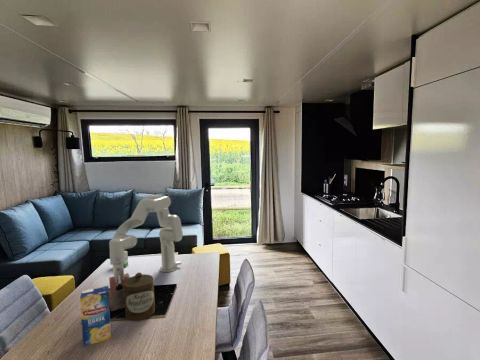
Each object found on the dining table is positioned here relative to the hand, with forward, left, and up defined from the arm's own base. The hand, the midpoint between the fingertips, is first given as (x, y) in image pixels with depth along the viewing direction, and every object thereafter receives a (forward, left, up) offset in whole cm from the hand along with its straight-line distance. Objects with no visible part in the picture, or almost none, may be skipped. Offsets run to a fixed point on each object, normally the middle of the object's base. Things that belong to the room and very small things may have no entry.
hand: (119, 290), depth 150 cm
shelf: (-1, -3, -7) cm, 8 cm away
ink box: (-7, -57, -7) cm, 58 cm away
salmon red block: (0, 0, -3) cm, 3 cm away
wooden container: (-8, +18, -7) cm, 21 cm away
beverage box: (+12, +29, -7) cm, 32 cm away
